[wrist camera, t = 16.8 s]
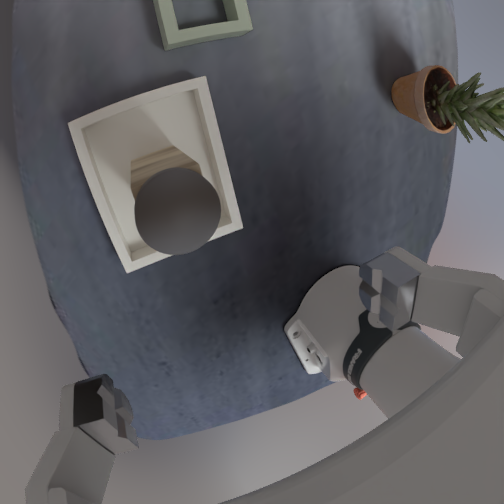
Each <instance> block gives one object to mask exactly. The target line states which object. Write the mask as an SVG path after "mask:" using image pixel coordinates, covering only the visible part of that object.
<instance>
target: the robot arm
mask: <svg viewBox="0 0 504 504" xmlns="http://www.w3.org/2000/svg"><path fill="white" fill-rule="evenodd" d="M418 323H419V324H422V325H425V326H428V327H431V328H434V329H437V330H441V331H444V332H447V333H450V334H453V335H456V336H460V338H459V341H458V343H457V346H456V351H457V352H458V353H459V354H460V355H461V356H462V357H463V358H462V359H460V358H458V357H456V356H454V355H453V354H451V353H450V352H448V351H447V350H445V349H444V348H443V347H441V346H440V345H439V344H437V343H436V342H435V341H433V340H432V339H431V338H429V337H428V336H427V335H426V334H425V333H423V332H422V331H421V328H420V326H419V324H418ZM284 331H285V333H286V335H287V337H288V339H289V341H290V343H291V344H292V346H293V348H294V350H295V352H296V354H297V356H298V358H299V360H300V361H301V363H302V365H303V367H304V369H305V370H306V372H307V373H308V374H315V373H319V372H323V373H324V374H325V376H326V377H327V378H328V379H329V380H330V381H341V380H348V381H349V382H350V383H351V384H352V385H355V386H356V387H357V388H355V389H354V393H355V395H356V397H357V398H358V399H362V398H363V397H364V396H366V395H368V396H369V397H370V398H371V399H372V400H373V402H374V403H375V404H376V405H377V406H378V407H379V409H380V410H381V411H382V412H383V413H384V414H385V415H386V417H387V418H388V420H387V421H385V422H384V423H382V424H381V425H379V426H378V427H376V428H375V429H373V430H372V431H370V432H369V433H367V434H366V435H364V436H362V437H361V438H359V439H358V440H356V441H354V442H353V443H351V444H349V445H348V446H346V447H344V448H343V449H341V450H339V451H337V452H336V453H334V454H332V455H330V456H328V457H327V458H325V459H323V460H321V461H319V462H317V463H315V464H313V465H311V466H309V467H307V468H306V469H303V470H301V471H299V472H297V473H295V474H293V475H291V476H289V477H287V478H284V479H282V480H280V481H277V482H275V483H273V484H270V485H268V486H266V487H263V488H261V489H258V490H256V491H253V492H250V493H248V494H245V495H242V496H239V497H237V498H234V499H231V500H228V501H225V502H222V503H219V504H504V280H502V279H501V278H499V277H498V276H496V275H495V274H489V273H482V272H476V271H469V270H463V269H455V268H449V267H442V266H436V265H435V266H433V267H431V266H429V265H428V264H426V263H425V262H423V261H422V260H420V259H418V258H417V257H415V256H414V255H412V254H410V253H409V252H407V251H405V250H404V249H402V248H400V247H394V248H392V249H390V250H388V251H386V252H385V253H383V254H381V255H379V256H377V257H375V258H373V259H371V260H370V261H368V262H366V263H364V264H362V265H361V266H360V267H358V266H353V265H348V266H342V267H339V268H337V269H334V270H332V271H331V272H329V273H327V274H326V275H324V276H323V277H322V278H321V279H319V280H318V281H317V282H316V283H315V284H314V285H313V286H312V287H311V289H310V290H309V291H308V293H307V294H306V295H305V297H304V299H303V301H302V303H301V305H300V307H299V309H298V311H297V312H296V314H295V315H294V316H293V317H292V318H291V319H290V320H289V321H288V322H287V324H286V325H285V327H284ZM60 396H61V397H60V412H59V431H57V432H55V433H54V435H53V437H52V438H51V440H50V442H49V444H48V446H47V448H46V450H45V451H44V453H43V455H42V457H41V459H40V461H39V462H38V464H37V466H36V468H35V470H34V472H33V474H32V476H31V478H30V480H29V482H28V485H27V486H26V488H25V496H26V504H102V500H103V497H104V493H105V490H106V487H107V483H108V480H109V477H110V473H111V470H112V467H113V464H114V460H115V455H117V454H121V453H125V452H128V451H132V450H135V449H138V448H139V446H138V441H137V435H136V430H135V429H134V428H133V427H132V426H131V425H130V424H131V422H132V420H133V412H132V408H131V406H130V403H129V400H128V399H127V397H126V396H125V394H124V393H123V392H122V391H121V390H120V389H117V388H114V386H113V380H112V379H111V378H110V377H109V376H108V375H107V374H101V375H98V376H95V377H91V378H88V379H85V380H82V381H78V382H76V383H73V384H69V385H65V386H63V388H62V389H61V395H60Z"/></svg>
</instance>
